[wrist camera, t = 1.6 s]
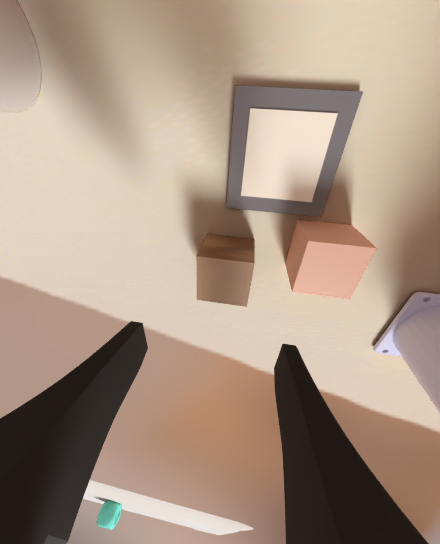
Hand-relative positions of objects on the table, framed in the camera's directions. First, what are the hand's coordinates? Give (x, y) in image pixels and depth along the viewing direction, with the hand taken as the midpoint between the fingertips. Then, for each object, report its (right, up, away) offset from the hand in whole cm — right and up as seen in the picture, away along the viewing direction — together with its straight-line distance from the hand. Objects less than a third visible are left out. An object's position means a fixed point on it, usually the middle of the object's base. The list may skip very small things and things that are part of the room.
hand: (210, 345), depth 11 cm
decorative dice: (-54, -114, +96) cm, 158 cm away
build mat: (+5, +11, +3) cm, 13 cm away
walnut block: (+1, +5, +8) cm, 10 cm away
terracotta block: (+8, +6, +6) cm, 12 cm away
